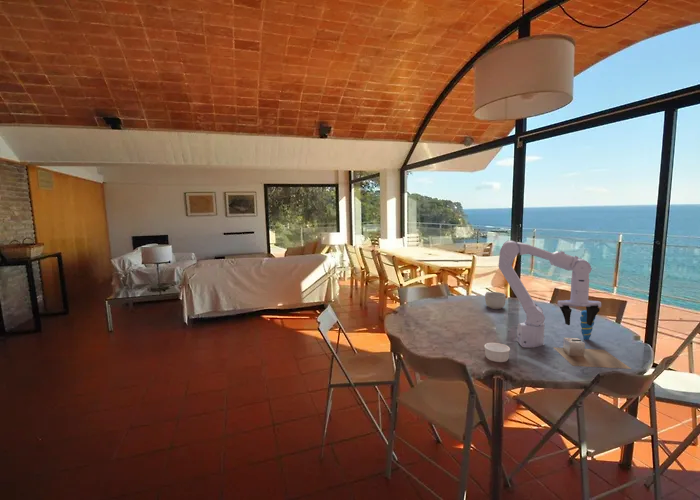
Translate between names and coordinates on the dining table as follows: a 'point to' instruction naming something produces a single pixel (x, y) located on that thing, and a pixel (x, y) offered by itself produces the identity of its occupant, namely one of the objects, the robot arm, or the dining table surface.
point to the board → (593, 359)
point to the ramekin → (496, 352)
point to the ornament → (585, 325)
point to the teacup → (495, 300)
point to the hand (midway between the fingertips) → (578, 324)
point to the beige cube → (573, 347)
